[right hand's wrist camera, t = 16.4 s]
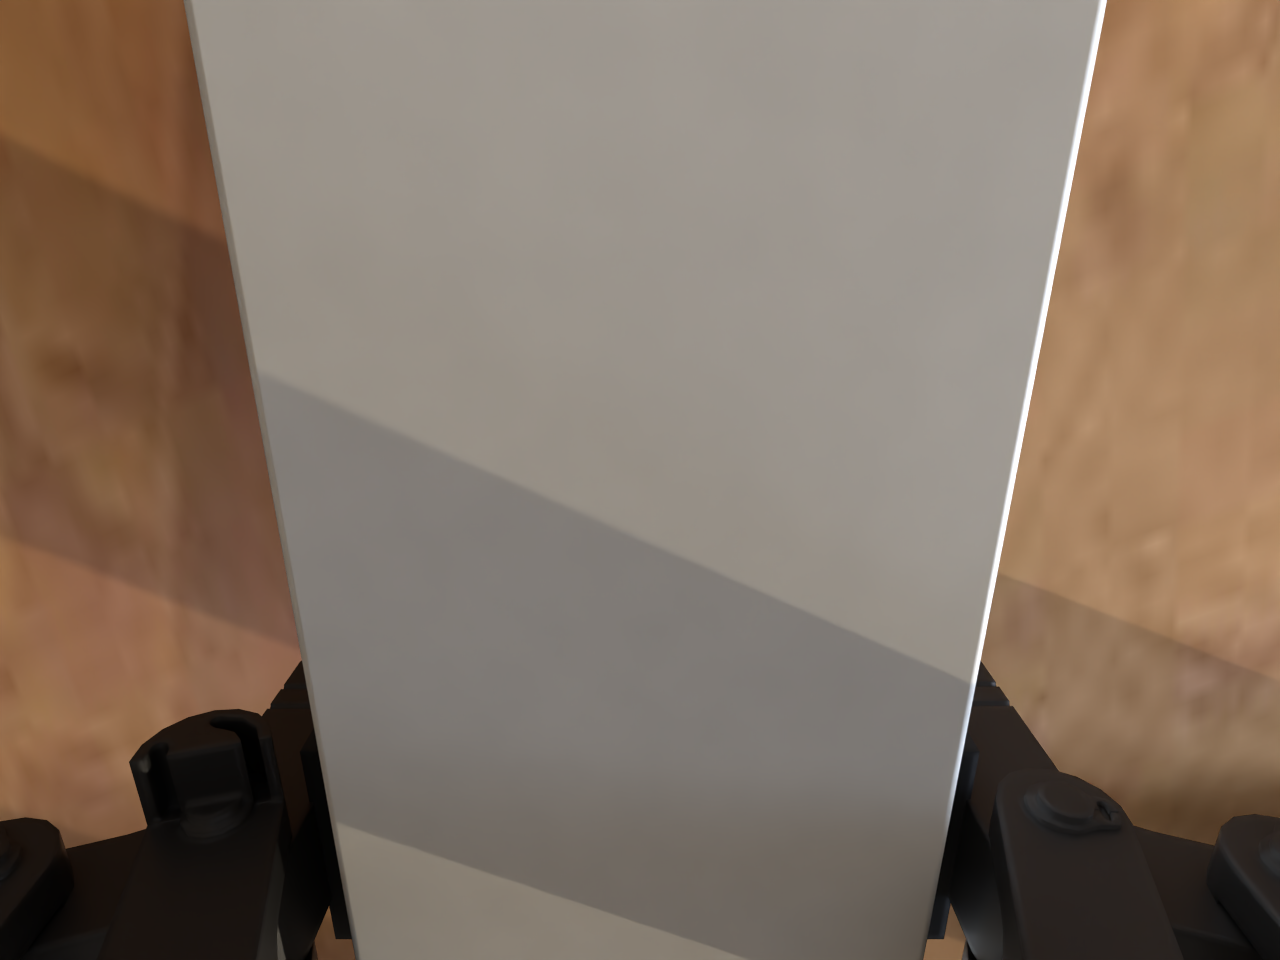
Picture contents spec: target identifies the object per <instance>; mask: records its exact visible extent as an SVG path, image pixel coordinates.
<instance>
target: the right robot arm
mask: <svg viewBox="0 0 1280 960" xmlns="http://www.w3.org/2000/svg"><path fill="white" fill-rule="evenodd" d="M129 763H130V767H131V770H132V774H133V777H134V781H135V784H136V787H137V791H138V794H139V798H140V801H141V805H142V808H143V812H144V815H145V818H146V822H147V825H148V826H147V828H146V829H144V830H141V831H138V832H134V833H131V834H128V835H124V836H119V837H115V838H111V839H107V840H102V841H98V842H94V843H89V844H85V845H81V846H77V847H72V848H68V849H65V846H64V843H63V840H62V837H61V834H60V831H59V830H58V829H57V828H56V827H55V826H53V825H52V824H51V823H50V822H48V821H47V820H41V819H33V818H19V819H13V820H7V821H0V960H318V957H317V951H316V947H315V942H314V940H315V937H316V935H317V933H318V930H319V928H320V925H321V923H322V921H323V918H324V916H325V914H326V911H327V909H328V907H329V906H330V912H331V917H332V922H333V927H334V932H335V938H336V939H352V936H351V930H350V925H349V919H348V914H347V908H346V903H345V897H344V891H343V886H342V880H341V875H340V869H339V864H338V858H337V852H336V847H335V841H334V836H333V830H332V824H331V819H330V813H329V808H328V802H327V797H326V791H325V785H324V780H323V774H322V769H321V763H320V758H319V752H318V746H317V741H316V735H315V730H314V724H313V719H312V713H311V707H310V702H309V696H308V691H307V685H306V680H305V674H304V668H303V663H302V661H301V662H300V663H299V664H298V666H297V667H296V669H295V670H294V671H293V673H292V674H291V676H290V677H289V679H288V680H287V681H286V683H285V684H284V689H281V690H280V691H279V693H278V694H277V696H276V697H275V698H274V700H273V701H272V703H271V707H270V709H267V710H266V711H265V713H264V714H263V716H260V715H259V714H258V713H254V712H249V711H245V710H241V709H231V710H214V711H211V712H207V713H203V714H199V715H195V716H192V717H188V718H186V719H184V720H182V721H179V722H177V723H175V724H173V725H171V726H169V727H167V728H164V729H162V730H161V731H160V732H158V733H157V734H156V735H154V736H153V737H152V738H150V739H149V740H148V741H146V742H145V743H144V744H142V745H141V747H140V748H139V749H138V751H137V752H136V753H135V755H134V756H133V757H132V759H131V760H130V761H129ZM950 904H952V907H953V909H954V911H955V914H956V916H957V918H958V921H959V923H960V925H961V928H962V930H963V932H964V935H965V937H966V942H965V947H964V951H963V956H962V960H1280V818H1276V817H1270V816H1264V815H1257V814H1252V815H1244V816H1237V817H1233V818H1232V819H1230V820H1229V821H1228V822H1226V823H1225V824H1224V825H1223V826H1221V829H1220V832H1219V835H1218V838H1217V841H1216V844H1215V846H1213V845H1209V844H1205V843H1200V842H1196V841H1192V840H1187V839H1183V838H1179V837H1174V836H1170V835H1166V834H1161V833H1157V832H1153V831H1149V830H1146V829H1143V828H1140V827H1136V826H1133V824H1132V823H1131V821H1130V820H1129V818H1128V817H1127V815H1126V814H1125V812H1124V811H1123V809H1122V807H1121V806H1120V805H1119V804H1117V803H1116V802H1115V801H1114V800H1113V799H1111V798H1110V797H1109V796H1108V795H1107V794H1106V793H1104V792H1103V791H1102V790H1101V789H1099V788H1097V787H1095V786H1093V785H1091V784H1089V783H1087V782H1085V781H1084V780H1082V779H1080V778H1078V777H1075V776H1072V775H1068V774H1065V773H1062V772H1059V771H1058V770H1057V768H1056V767H1055V765H1054V764H1053V762H1052V761H1051V760H1050V758H1049V757H1048V755H1047V754H1046V753H1045V751H1044V750H1043V748H1042V747H1041V745H1040V744H1039V743H1038V741H1037V740H1036V738H1035V737H1034V736H1033V734H1032V733H1031V731H1030V730H1029V728H1028V727H1027V726H1026V724H1025V723H1024V721H1023V720H1022V719H1021V717H1020V716H1019V714H1018V713H1017V712H1016V710H1015V709H1014V707H1013V706H1010V705H1009V700H1008V699H1007V697H1006V696H1005V695H1004V693H1003V692H1002V690H1001V689H1000V687H996V682H995V680H994V679H993V678H992V676H991V675H990V673H989V672H988V670H987V669H986V668H985V666H984V665H983V663H982V662H981V661H980V665H979V670H978V675H977V680H976V686H975V691H974V696H973V701H972V707H971V712H970V717H969V722H968V727H967V733H966V738H965V743H964V748H963V754H962V759H961V764H960V769H959V774H958V780H957V785H956V790H955V795H954V801H953V806H952V811H951V816H950V822H949V827H948V832H947V837H946V842H945V848H944V853H943V858H942V863H941V869H940V874H939V879H938V884H937V889H936V895H935V900H934V905H933V910H932V916H931V921H930V926H929V931H928V936H927V939H944V935H945V930H946V924H947V919H948V914H949V909H950Z"/></svg>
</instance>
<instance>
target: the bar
mask: <svg viewBox="0 0 1280 960" xmlns="http://www.w3.org/2000/svg"><path fill="white" fill-rule="evenodd" d="M1106 1H1107V0H184V5H185V11H186V16H187V22H188V27H189V33H190V38H191V44H192V50H193V55H194V61H195V66H196V72H197V77H198V83H199V89H200V94H201V100H202V105H203V111H204V116H205V122H206V128H207V133H208V139H209V144H210V150H211V155H212V161H213V167H214V172H215V178H216V183H217V189H218V195H219V200H220V206H221V211H222V217H223V222H224V228H225V234H226V239H227V245H228V250H229V256H230V261H231V267H232V273H233V278H234V284H235V289H236V295H237V300H238V306H239V312H240V317H241V323H242V328H243V334H244V339H245V345H246V351H247V356H248V362H249V367H250V373H251V378H252V384H253V390H254V395H255V401H256V406H257V412H258V418H259V423H260V429H261V434H262V440H263V445H264V451H265V457H266V462H267V468H268V473H269V479H270V484H271V490H272V496H273V501H274V507H275V512H276V518H277V523H278V529H279V535H280V540H281V546H282V551H283V557H284V562H285V568H286V574H287V579H288V585H289V590H290V596H291V601H292V607H293V613H294V618H295V624H296V629H297V635H298V641H299V646H300V652H301V657H302V663H303V668H304V674H305V680H306V685H307V691H308V696H309V702H310V707H311V713H312V719H313V724H314V730H315V735H316V741H317V746H318V752H319V758H320V763H321V769H322V774H323V780H324V785H325V791H326V797H327V802H328V808H329V813H330V819H331V824H332V830H333V836H334V841H335V847H336V852H337V858H338V864H339V869H340V875H341V880H342V886H343V891H344V897H345V903H346V908H347V914H348V919H349V925H350V930H351V936H352V942H353V947H354V953H355V958H356V960H923V957H924V952H925V947H926V942H927V936H928V931H929V926H930V921H931V916H932V910H933V905H934V900H935V895H936V889H937V884H938V879H939V874H940V869H941V863H942V858H943V853H944V848H945V842H946V837H947V832H948V827H949V822H950V816H951V811H952V806H953V801H954V795H955V790H956V785H957V780H958V774H959V769H960V764H961V759H962V754H963V748H964V743H965V738H966V733H967V727H968V722H969V717H970V712H971V707H972V701H973V696H974V691H975V686H976V680H977V675H978V670H979V665H980V660H981V654H982V649H983V644H984V639H985V633H986V628H987V623H988V618H989V613H990V607H991V602H992V597H993V592H994V586H995V581H996V576H997V571H998V566H999V560H1000V555H1001V550H1002V545H1003V539H1004V534H1005V529H1006V524H1007V519H1008V513H1009V508H1010V503H1011V498H1012V492H1013V487H1014V482H1015V477H1016V472H1017V466H1018V461H1019V456H1020V451H1021V445H1022V440H1023V435H1024V430H1025V425H1026V419H1027V414H1028V409H1029V404H1030V398H1031V393H1032V388H1033V383H1034V378H1035V372H1036V367H1037V362H1038V357H1039V351H1040V346H1041V341H1042V336H1043V331H1044V325H1045V320H1046V315H1047V310H1048V304H1049V299H1050V294H1051V289H1052V284H1053V278H1054V273H1055V268H1056V263H1057V257H1058V252H1059V247H1060V242H1061V237H1062V231H1063V226H1064V221H1065V216H1066V210H1067V205H1068V200H1069V195H1070V189H1071V184H1072V179H1073V174H1074V169H1075V163H1076V158H1077V153H1078V148H1079V142H1080V137H1081V132H1082V127H1083V122H1084V116H1085V111H1086V106H1087V101H1088V95H1089V90H1090V85H1091V80H1092V75H1093V69H1094V64H1095V59H1096V54H1097V48H1098V43H1099V38H1100V33H1101V28H1102V22H1103V17H1104V12H1105V7H1106Z"/></svg>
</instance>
